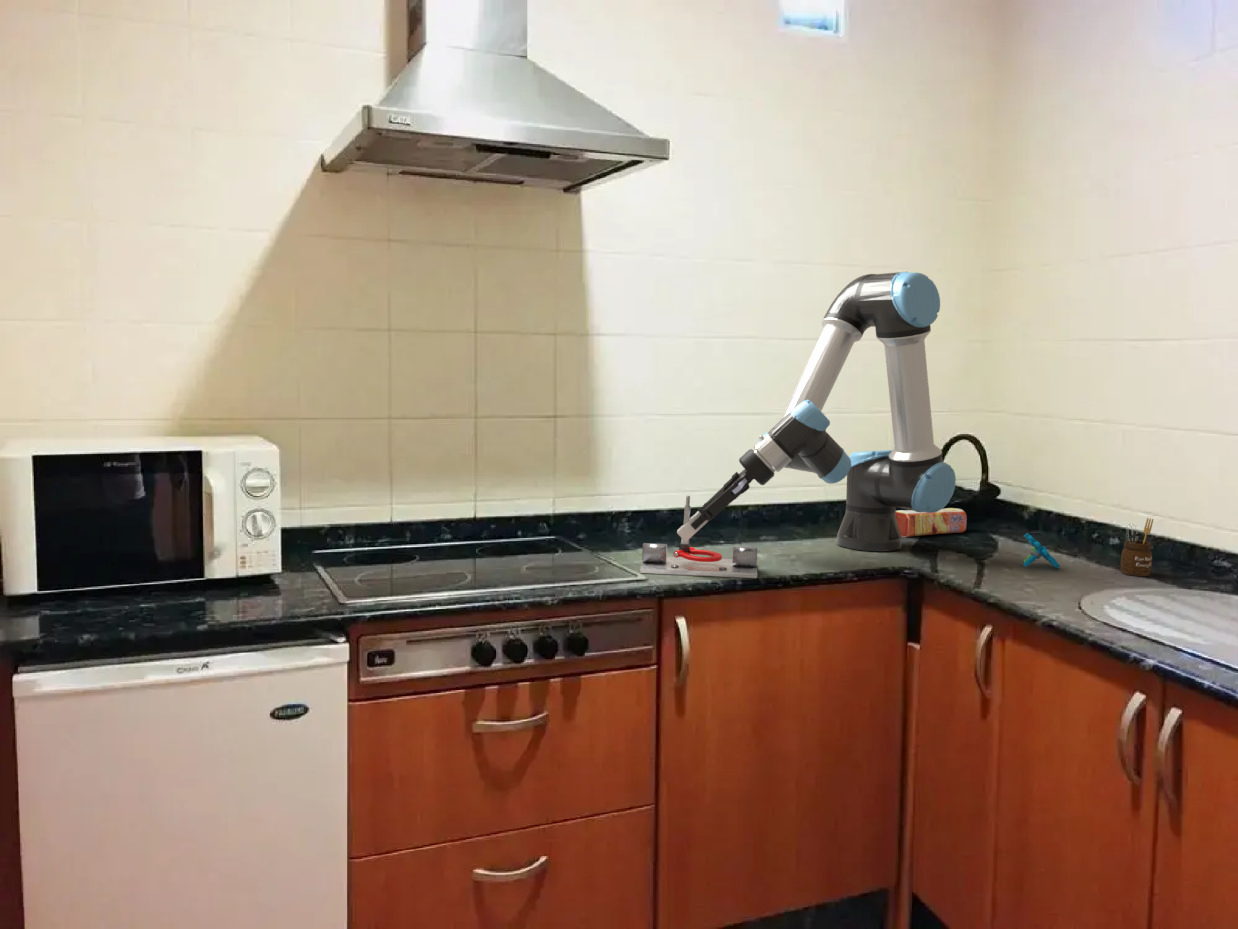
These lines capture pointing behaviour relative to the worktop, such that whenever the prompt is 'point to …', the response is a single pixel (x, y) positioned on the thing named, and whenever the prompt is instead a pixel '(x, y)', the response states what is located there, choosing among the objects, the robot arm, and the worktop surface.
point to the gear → (1038, 553)
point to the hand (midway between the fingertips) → (681, 535)
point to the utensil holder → (1137, 555)
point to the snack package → (931, 522)
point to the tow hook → (687, 550)
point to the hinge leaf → (699, 563)
